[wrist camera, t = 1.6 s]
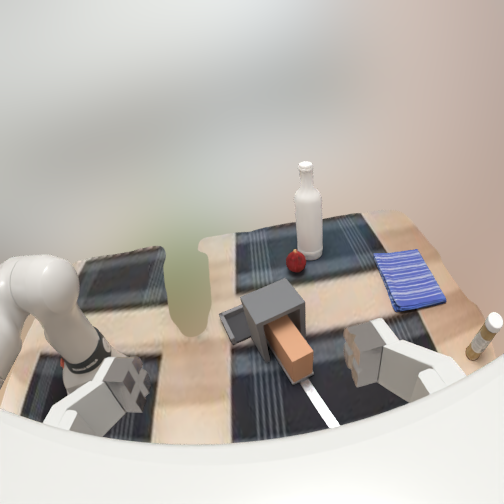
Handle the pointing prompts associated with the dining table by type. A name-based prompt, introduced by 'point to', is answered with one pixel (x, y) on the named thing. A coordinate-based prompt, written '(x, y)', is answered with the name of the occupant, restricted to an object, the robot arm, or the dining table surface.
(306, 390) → the rail
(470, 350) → the sprinkles bottle
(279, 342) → the orange rectangular block
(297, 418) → the dining table surface
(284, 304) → the tunnel
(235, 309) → the tray
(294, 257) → the onion
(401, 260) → the dish towel
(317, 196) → the bottle
